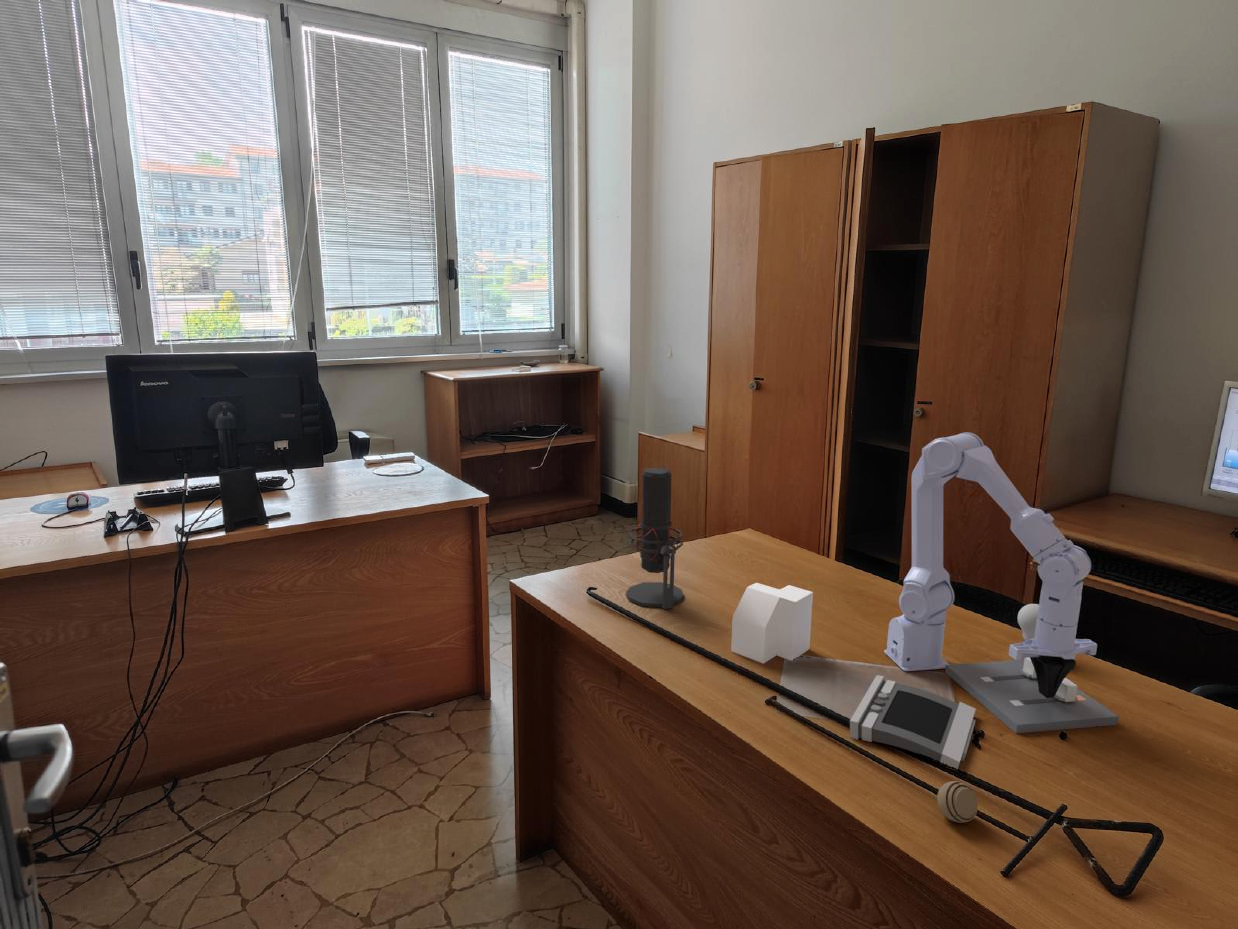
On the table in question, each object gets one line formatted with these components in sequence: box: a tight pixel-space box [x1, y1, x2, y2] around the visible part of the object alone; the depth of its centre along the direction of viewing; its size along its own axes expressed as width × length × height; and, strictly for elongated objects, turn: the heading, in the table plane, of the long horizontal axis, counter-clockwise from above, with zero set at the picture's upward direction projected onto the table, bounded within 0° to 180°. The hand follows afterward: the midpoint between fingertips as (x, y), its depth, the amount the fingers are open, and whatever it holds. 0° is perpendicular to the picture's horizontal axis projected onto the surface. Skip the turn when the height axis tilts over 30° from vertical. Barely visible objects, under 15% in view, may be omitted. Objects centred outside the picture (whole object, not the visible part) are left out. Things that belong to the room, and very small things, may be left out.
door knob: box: [936, 780, 979, 824], centre depth 99 cm, size 5×5×5 cm
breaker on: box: [1021, 657, 1037, 678], centre depth 134 cm, size 3×3×3 cm
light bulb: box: [1017, 603, 1039, 642], centre depth 145 cm, size 6×6×10 cm
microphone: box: [625, 467, 685, 610], centre depth 169 cm, size 14×13×30 cm
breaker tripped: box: [1054, 677, 1078, 702], centre depth 126 cm, size 3×3×3 cm
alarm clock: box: [849, 674, 977, 770], centre depth 120 cm, size 17×5×16 cm
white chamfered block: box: [730, 582, 814, 664], centre depth 145 cm, size 11×11×12 cm
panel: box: [944, 659, 1119, 734], centre depth 130 cm, size 18×20×2 cm
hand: (1046, 695), depth 126 cm, fingers closed
